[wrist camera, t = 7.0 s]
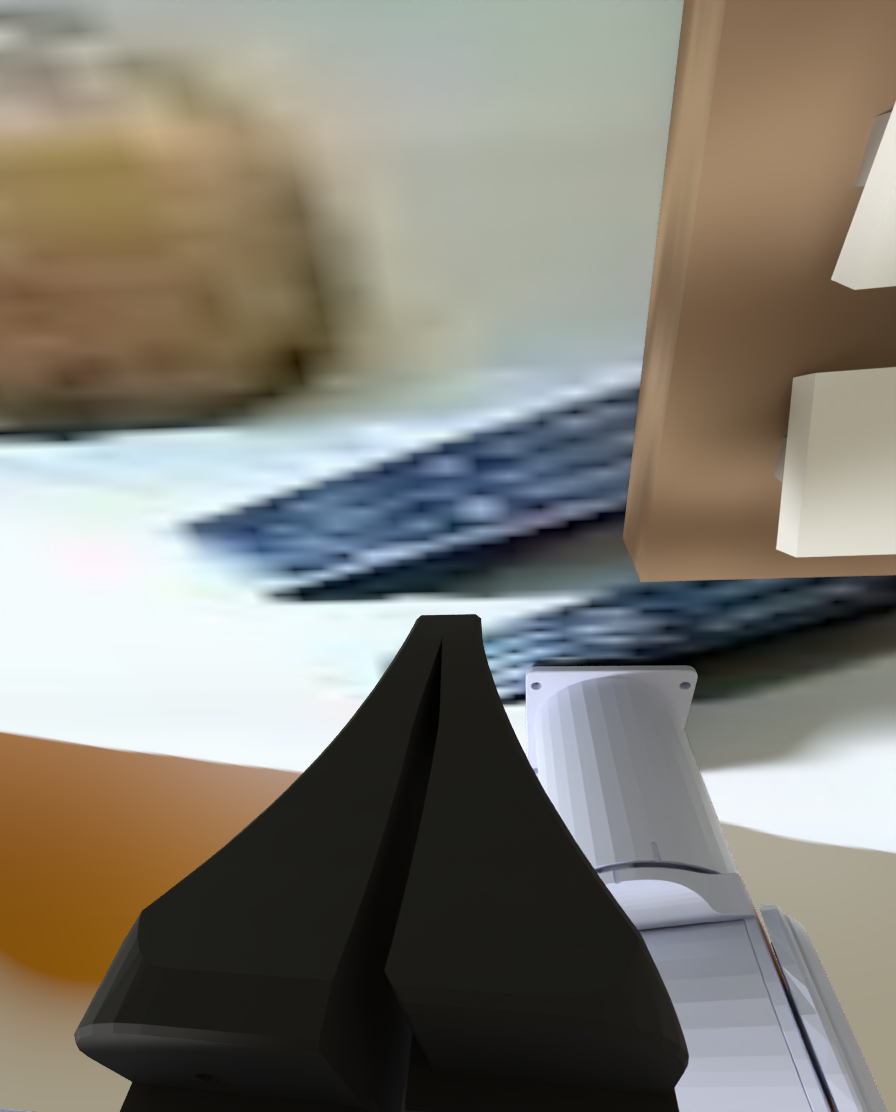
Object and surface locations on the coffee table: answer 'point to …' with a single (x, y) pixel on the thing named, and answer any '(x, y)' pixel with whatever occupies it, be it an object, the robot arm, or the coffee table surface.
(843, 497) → the block
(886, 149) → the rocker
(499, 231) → the coffee table surface
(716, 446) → the switch box
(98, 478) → the coffee table surface
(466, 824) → the robot arm
